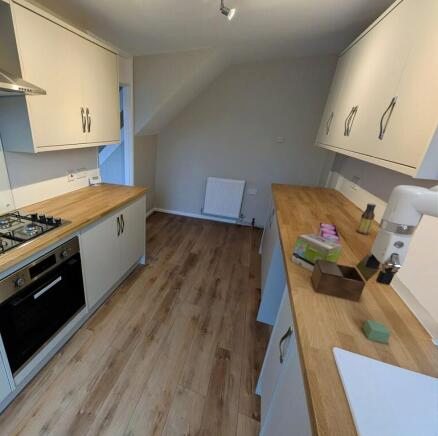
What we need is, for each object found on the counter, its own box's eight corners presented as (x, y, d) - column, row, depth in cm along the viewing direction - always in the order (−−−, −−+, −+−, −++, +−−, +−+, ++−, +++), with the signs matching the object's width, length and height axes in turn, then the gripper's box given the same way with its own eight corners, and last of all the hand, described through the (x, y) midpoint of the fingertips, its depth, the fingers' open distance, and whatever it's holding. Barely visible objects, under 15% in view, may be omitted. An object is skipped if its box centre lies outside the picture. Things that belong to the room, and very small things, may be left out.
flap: (355, 266, 98) (356, 266, 98) (366, 281, 88) (366, 281, 88) (367, 253, 95) (368, 254, 95) (380, 267, 85) (381, 268, 85)
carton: (348, 286, 101) (355, 265, 98) (357, 303, 91) (366, 281, 88) (310, 278, 107) (316, 258, 103) (315, 293, 97) (322, 272, 93)
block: (379, 334, 77) (384, 323, 76) (385, 345, 73) (390, 334, 72) (362, 329, 79) (366, 319, 77) (367, 340, 75) (371, 329, 74)
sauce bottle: (364, 231, 158) (374, 202, 152) (371, 235, 153) (382, 205, 146) (353, 230, 159) (363, 202, 152) (360, 234, 153) (370, 205, 146)
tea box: (290, 261, 120) (296, 235, 115) (304, 258, 124) (311, 232, 119) (319, 277, 107) (328, 248, 102) (334, 273, 110) (343, 245, 105)
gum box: (313, 242, 141) (319, 221, 137) (329, 246, 137) (336, 224, 133) (314, 259, 122) (321, 235, 118) (333, 264, 118) (341, 239, 114)
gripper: (430, 240, 62) (404, 294, 68) (400, 220, 77) (381, 265, 83) (392, 235, 65) (371, 286, 71) (370, 216, 80) (354, 260, 86)
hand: (376, 275), depth 77 cm, fingers open, 9 cm apart
